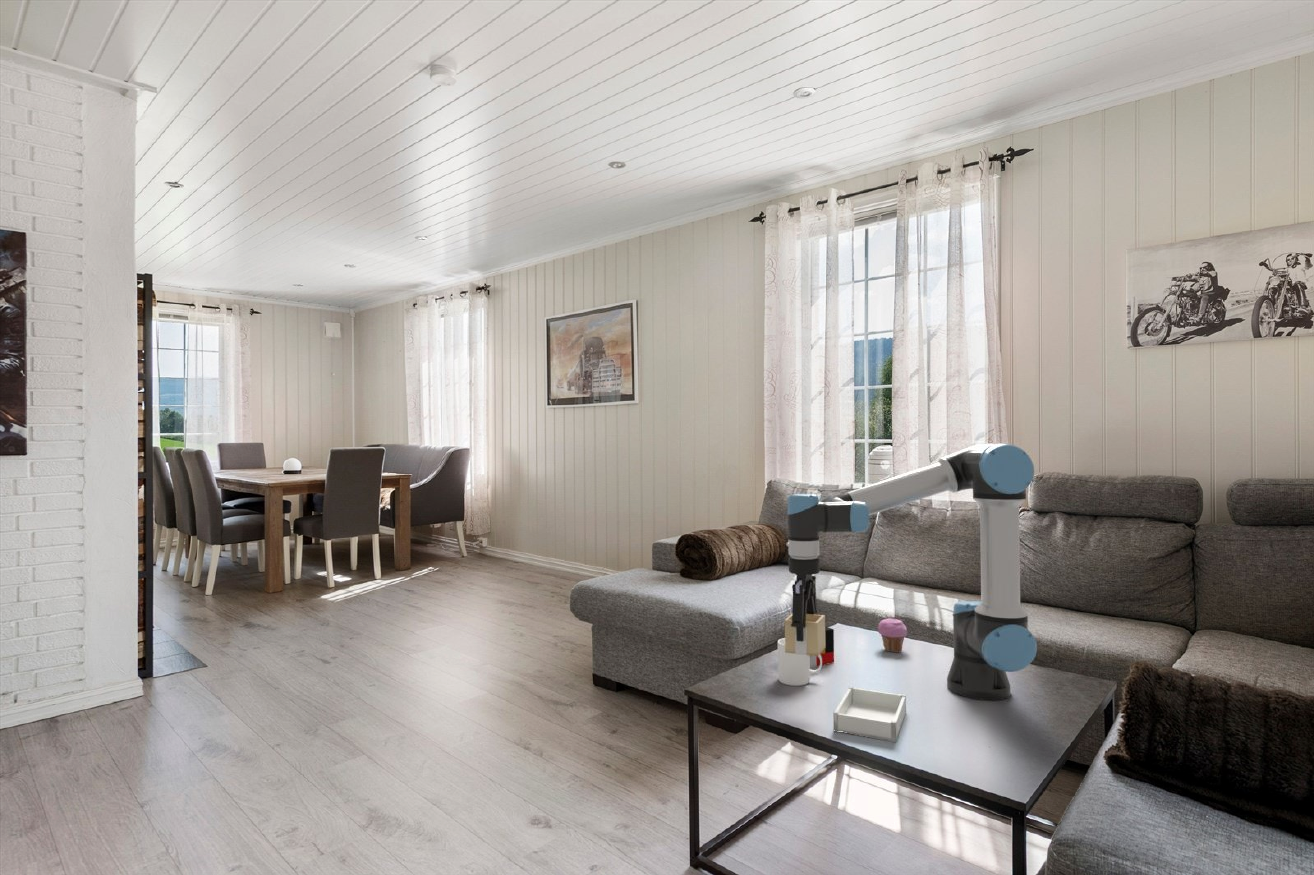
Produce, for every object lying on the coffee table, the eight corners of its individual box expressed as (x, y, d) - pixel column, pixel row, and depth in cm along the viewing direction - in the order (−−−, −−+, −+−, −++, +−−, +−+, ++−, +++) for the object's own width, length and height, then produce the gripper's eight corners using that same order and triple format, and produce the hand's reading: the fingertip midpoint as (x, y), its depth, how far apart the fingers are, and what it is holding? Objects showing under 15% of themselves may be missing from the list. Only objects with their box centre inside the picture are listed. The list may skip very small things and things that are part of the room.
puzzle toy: (807, 668, 200) (807, 633, 200) (786, 658, 209) (785, 625, 209) (834, 663, 204) (833, 629, 204) (811, 654, 213) (811, 621, 213)
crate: (906, 712, 166) (905, 694, 166) (895, 742, 149) (895, 723, 149) (849, 703, 172) (849, 686, 172) (833, 731, 155) (833, 712, 155)
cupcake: (910, 655, 211) (909, 622, 211) (881, 654, 212) (880, 621, 212) (903, 646, 220) (903, 615, 220) (875, 646, 221) (875, 614, 221)
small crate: (825, 647, 172) (824, 615, 172) (818, 656, 165) (817, 623, 165) (794, 643, 175) (793, 612, 175) (785, 652, 168) (784, 619, 168)
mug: (824, 687, 184) (824, 647, 184) (779, 686, 185) (779, 646, 185) (819, 676, 192) (819, 638, 192) (776, 675, 193) (776, 637, 193)
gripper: (799, 549, 181) (801, 636, 181) (777, 562, 162) (778, 659, 162) (828, 551, 178) (830, 639, 178) (808, 564, 159) (810, 663, 159)
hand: (805, 648), depth 170 cm, fingers closed on small crate, 8 cm apart
